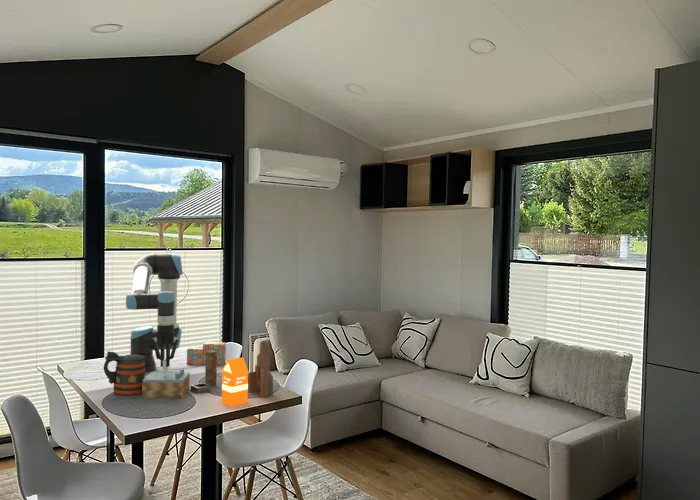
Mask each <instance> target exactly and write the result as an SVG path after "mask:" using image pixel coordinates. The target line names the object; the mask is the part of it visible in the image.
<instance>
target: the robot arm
mask: <svg viewBox="0 0 700 500" xmlns="http://www.w3.org/2000/svg"><path fill="white" fill-rule="evenodd" d="M132 270H133V271H132V272H133V274H134V277H133V283H132V290H131V293H127V294H126V296H125V308H126V309H127V310H134V311H135V310H157V320H156V321H157V322H156V323H157V328H154V327H153V326H151V325H150V326H148V325H147V326H140V327H137V328H134V329H132V330H131V332H130V354H136V355H142V356H143V355H146V357H145V361H144V362H145V373H147V372H153V371H155V370H156V369H157V363H156V361H155V358H154V352H155V357H156V359H157V360H160V368H162V372H163V374H167V372H168V368H169V367H170V364H171V363H170V361H171V360H172V359H174V357H175V354H176V350H177V349H179V347H180V343H181V338H182V330H183V329H182V328H181V327H180V325H179V323H177V314H178V313H177V307H178V306H177V305H178V302H177V301H178V281H179V280H180V278H181V276H182V275H183V264H182V258H181V255H180V254H178V253H148V254H146V255H143V256H141V258H139V259H138V260H137V261H136V262H135V263H134V265H133V269H132ZM151 276H157V279H158V280H159V281H160V291H159V292H158V293H149V288H150V281H151V280H150V279H151Z"/></svg>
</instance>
